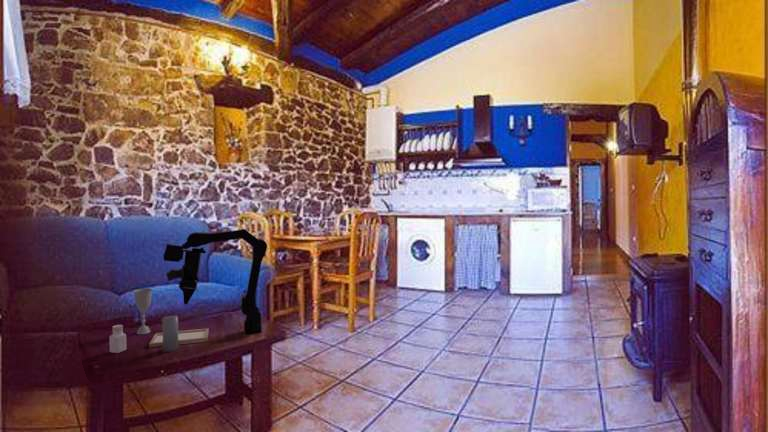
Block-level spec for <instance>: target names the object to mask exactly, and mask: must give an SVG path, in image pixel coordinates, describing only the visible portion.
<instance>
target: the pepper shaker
mask: <svg viewBox="0 0 768 432" xmlns="http://www.w3.org/2000/svg"><path fill="white" fill-rule="evenodd" d="M123 326H124V325H122V324H116V325H113V326H112V334H110V336H109V339H108V340H109V352H110V353H113V354H119V353H121V352H124V351H126V350H127V334H126V333H124V331H123V330H124V327H123Z"/></svg>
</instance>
